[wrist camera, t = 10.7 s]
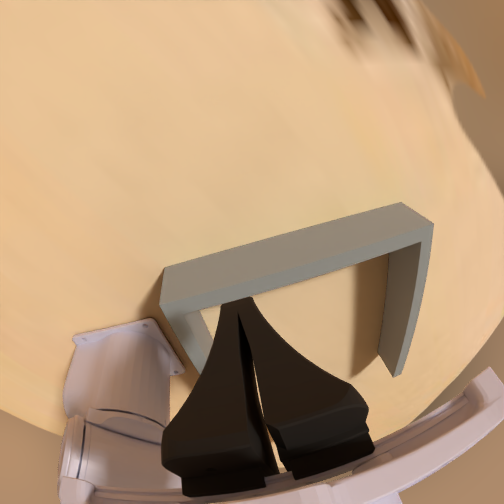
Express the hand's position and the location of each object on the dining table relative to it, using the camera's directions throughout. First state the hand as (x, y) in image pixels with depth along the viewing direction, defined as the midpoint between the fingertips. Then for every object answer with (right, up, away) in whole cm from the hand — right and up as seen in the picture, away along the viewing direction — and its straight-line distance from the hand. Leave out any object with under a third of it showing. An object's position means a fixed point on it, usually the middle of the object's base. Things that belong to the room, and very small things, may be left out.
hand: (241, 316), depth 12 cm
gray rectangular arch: (+6, -4, +15) cm, 16 cm away
